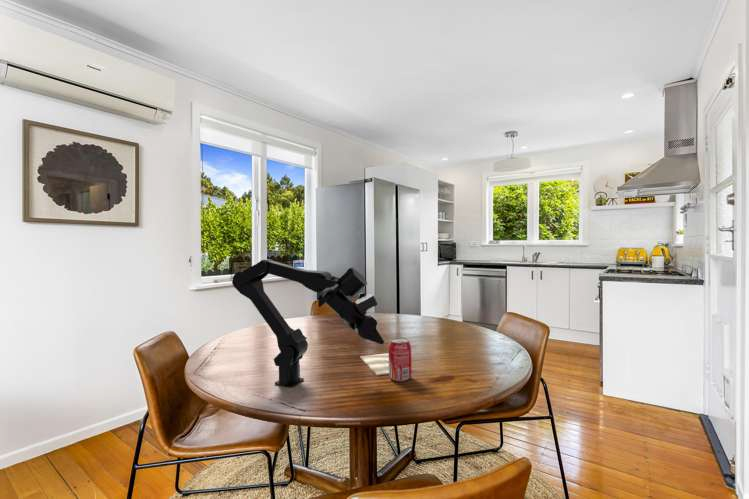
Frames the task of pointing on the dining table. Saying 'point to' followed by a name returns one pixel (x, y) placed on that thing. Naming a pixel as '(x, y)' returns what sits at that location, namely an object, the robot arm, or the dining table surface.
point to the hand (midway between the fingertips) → (378, 339)
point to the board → (378, 363)
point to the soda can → (399, 359)
